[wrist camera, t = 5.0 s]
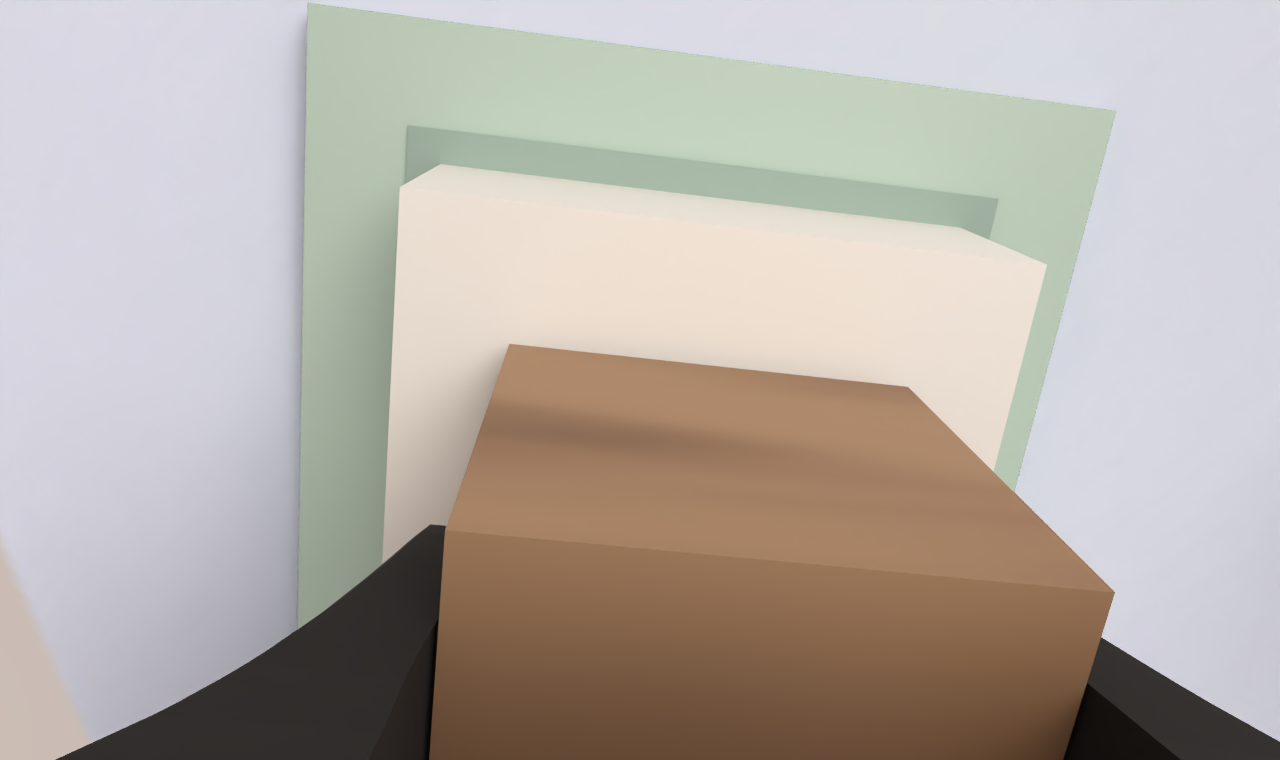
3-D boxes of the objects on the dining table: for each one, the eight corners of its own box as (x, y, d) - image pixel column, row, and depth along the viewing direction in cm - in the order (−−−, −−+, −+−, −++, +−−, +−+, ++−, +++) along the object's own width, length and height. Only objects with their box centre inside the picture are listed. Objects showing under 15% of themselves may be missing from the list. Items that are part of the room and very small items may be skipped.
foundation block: (859, 667, 17) (911, 786, 14) (412, 629, 16) (373, 746, 14) (959, 227, 15) (1046, 264, 12) (440, 164, 14) (399, 186, 11)
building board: (930, 742, 18) (942, 766, 18) (305, 693, 18) (294, 716, 17) (1096, 109, 15) (1118, 110, 14) (319, 5, 14) (305, 1, 13)
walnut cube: (834, 720, 13) (964, 1077, 9) (479, 692, 13) (408, 1048, 8) (907, 386, 12) (1114, 592, 7) (509, 343, 11) (444, 530, 7)
